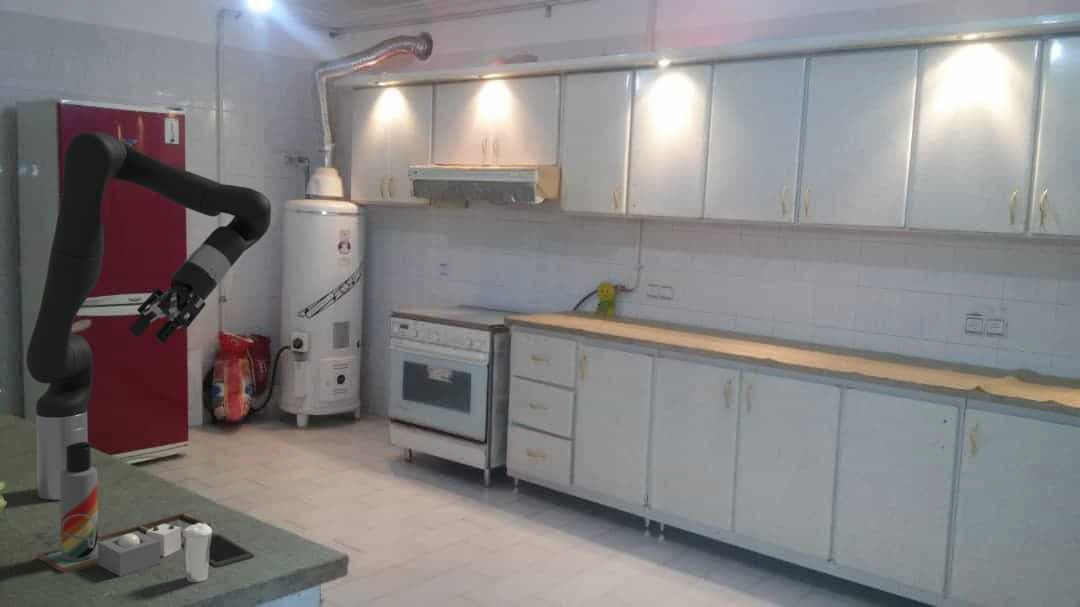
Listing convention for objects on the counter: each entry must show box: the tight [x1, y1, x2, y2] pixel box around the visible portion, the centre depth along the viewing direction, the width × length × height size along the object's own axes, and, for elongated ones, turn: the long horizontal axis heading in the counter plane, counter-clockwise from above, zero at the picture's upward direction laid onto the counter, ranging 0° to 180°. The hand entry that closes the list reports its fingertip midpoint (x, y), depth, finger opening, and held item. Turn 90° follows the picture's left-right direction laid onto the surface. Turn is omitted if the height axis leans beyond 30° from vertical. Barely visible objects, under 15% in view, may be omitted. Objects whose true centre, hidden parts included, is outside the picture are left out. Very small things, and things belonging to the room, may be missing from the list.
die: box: [145, 523, 182, 558], centre depth 157 cm, size 4×4×5 cm
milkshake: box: [177, 519, 213, 583], centre depth 146 cm, size 4×5×10 cm
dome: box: [118, 533, 140, 548], centre depth 150 cm, size 3×3×5 cm
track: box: [37, 512, 212, 574], centre depth 160 cm, size 9×28×1 cm, turn 144°
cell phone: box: [181, 533, 255, 568], centre depth 158 cm, size 7×14×1 cm, turn 47°
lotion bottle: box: [59, 442, 99, 561], centre depth 152 cm, size 6×6×20 cm
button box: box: [97, 531, 161, 577], centre depth 150 cm, size 7×7×4 cm
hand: (145, 337), depth 163 cm, fingers open, 8 cm apart
